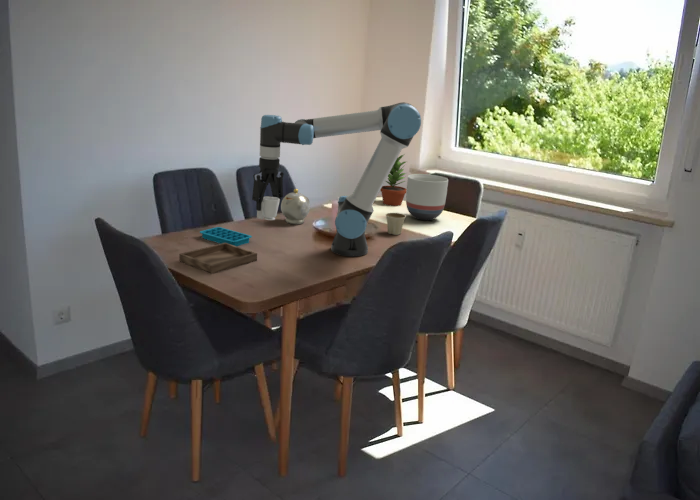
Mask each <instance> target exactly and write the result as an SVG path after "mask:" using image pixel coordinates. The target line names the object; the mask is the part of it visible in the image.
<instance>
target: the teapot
mask: <svg viewBox="0 0 700 500" xmlns="http://www.w3.org/2000/svg"><path fill="white" fill-rule="evenodd" d="M310 209H311V205H310V199H309V197H307V196H306V195H304V194H303V193H301V192H299V189H298V188H294V189H293V192H289V193H287V194H286V195H285V196H283V197H282V200H281V204H280V211H281V212H282V213H281V214H282V215H283V216H284V218H285V223H287V224H290V225H295V226H296V225H302V224H304V223H305V219H306V218H307V216H308V215H309V213H310V211H311V210H310Z"/></svg>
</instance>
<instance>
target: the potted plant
mask: <svg viewBox="0 0 700 500" xmlns="http://www.w3.org/2000/svg"><path fill="white" fill-rule="evenodd" d="M404 156H405V154H402V155H399V156H398V158H397V160H396V161H395V163H394V165H393V167H392V169H391V171H390V173H389V175H388V176H387V180H385V183H387V184H388V185H383V186H382V188H381V190H380V191H379V192H381V197H382V203H383V204H384V205H385V204H386V206H390V205H391V206H390V207H392V206H393V207H399V206H401V205H402V203H403V200H404V198H405V195H406V192H407V187H406V188H405V187H403V186H399V185H400V184H403V183H404V182H406V180H404V181H401V180H403V179H405V178H406V176H405V175H406V174H407V172H406V173H405V172H403V171H404V167H405V165H404V164H405V163H407V161H402V162H400V160H401V159H402V158H403V157H404ZM401 166H402V167H401ZM399 181H400V182H399ZM397 185H398V186H397ZM398 205H399V206H398Z"/></svg>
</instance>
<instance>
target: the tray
mask: <svg viewBox="0 0 700 500" xmlns="http://www.w3.org/2000/svg"><path fill="white" fill-rule="evenodd" d="M178 257H179V261H180V262H179V263H181V264H184V263H185V264H184V265H187V266H190V267H192V268H194V267H195V268H194V269H198V270H200V271H202V272H204V273H207V274H210V275H214V274H216V273H217V274H218V273H220V272H224V271H226V270H227V271H228V270H230V269H234V268H237V267H240V266H243V265H247V264H251V263H254V262H258V253H257V252H254V251H251V250H248V249H246V248H242V247H239V246H234V245H231V244H228V243H222V244H220V243H217V244H214V245H210V246H206V247H202V248H199V249H195V250H190V251H186V252H183V253H179V256H178Z"/></svg>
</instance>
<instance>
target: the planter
mask: <svg viewBox="0 0 700 500" xmlns="http://www.w3.org/2000/svg"><path fill="white" fill-rule="evenodd" d="M448 186H449V179H448V177H445V176H440V175H435V174H426V173H425V174H424V173H413V174H409V175H407V179H406V189H407V190H406V194H405V195H406V197H405V198H406V199H405V203H406V209H407V212H408V213H409V214H410V215H411V216H412V217H414V218H415V219H417V220H420V221H433V220H435V219H436V218H438V217H440V215H441V214H442V213H443V211H444V209H445V205H446V199H447V194H448Z"/></svg>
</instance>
